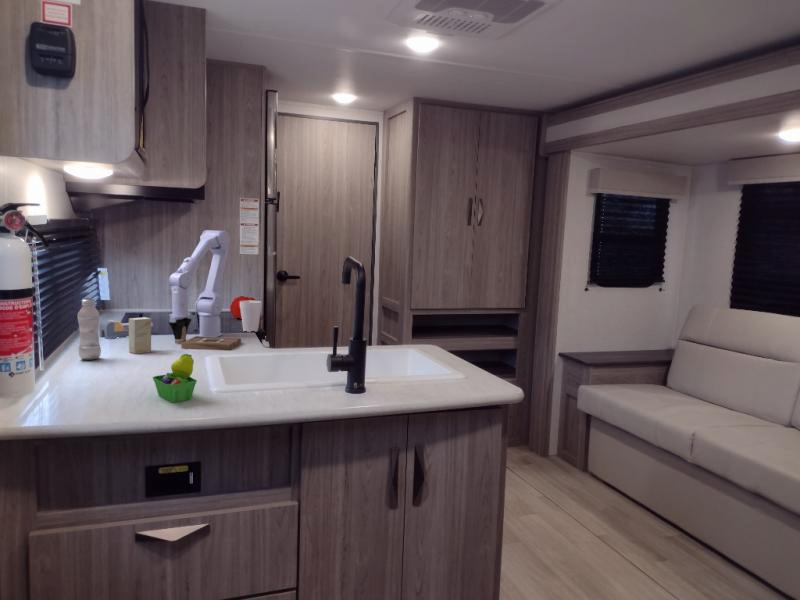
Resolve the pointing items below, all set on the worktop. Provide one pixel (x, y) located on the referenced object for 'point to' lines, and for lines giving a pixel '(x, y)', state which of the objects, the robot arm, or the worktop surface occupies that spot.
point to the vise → (114, 329)
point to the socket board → (211, 343)
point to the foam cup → (250, 315)
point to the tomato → (238, 306)
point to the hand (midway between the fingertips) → (180, 338)
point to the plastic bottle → (89, 330)
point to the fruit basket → (177, 381)
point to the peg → (182, 336)
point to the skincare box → (139, 335)
